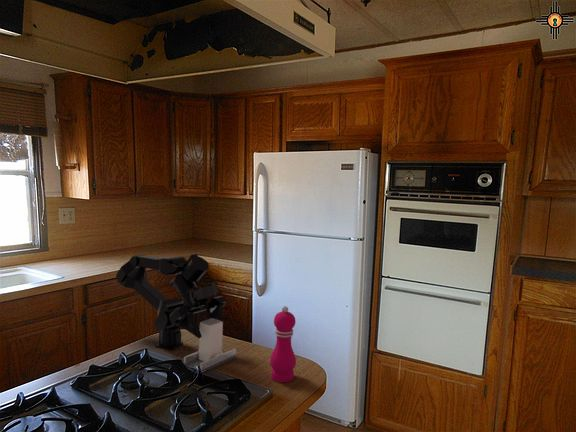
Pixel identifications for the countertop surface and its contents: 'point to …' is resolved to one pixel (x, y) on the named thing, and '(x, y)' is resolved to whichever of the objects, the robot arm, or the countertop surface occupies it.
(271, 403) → the countertop surface
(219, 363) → the rail plate
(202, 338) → the block
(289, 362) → the pepper mill
